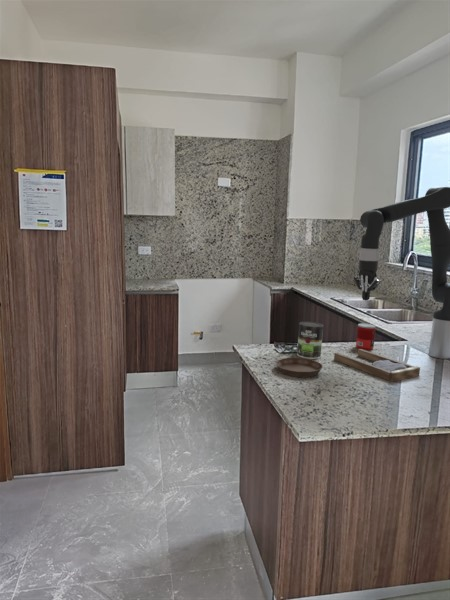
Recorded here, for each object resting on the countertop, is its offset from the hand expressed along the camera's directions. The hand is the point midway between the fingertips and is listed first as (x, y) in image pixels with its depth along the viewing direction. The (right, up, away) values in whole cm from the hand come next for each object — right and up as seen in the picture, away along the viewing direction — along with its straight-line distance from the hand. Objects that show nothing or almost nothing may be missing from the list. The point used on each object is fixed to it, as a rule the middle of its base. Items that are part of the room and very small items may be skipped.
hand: (365, 300), depth 194 cm
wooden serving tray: (+1, -27, -8) cm, 28 cm away
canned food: (+6, -23, +21) cm, 31 cm away
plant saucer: (-31, -28, -17) cm, 45 cm away
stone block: (+4, -29, -14) cm, 32 cm away
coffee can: (-23, -24, +4) cm, 34 cm away
